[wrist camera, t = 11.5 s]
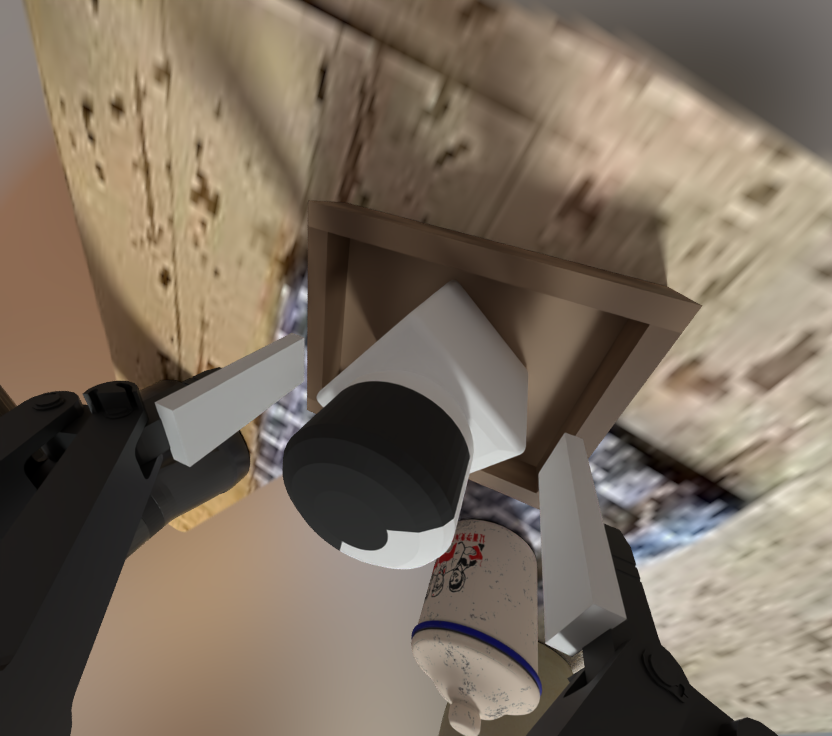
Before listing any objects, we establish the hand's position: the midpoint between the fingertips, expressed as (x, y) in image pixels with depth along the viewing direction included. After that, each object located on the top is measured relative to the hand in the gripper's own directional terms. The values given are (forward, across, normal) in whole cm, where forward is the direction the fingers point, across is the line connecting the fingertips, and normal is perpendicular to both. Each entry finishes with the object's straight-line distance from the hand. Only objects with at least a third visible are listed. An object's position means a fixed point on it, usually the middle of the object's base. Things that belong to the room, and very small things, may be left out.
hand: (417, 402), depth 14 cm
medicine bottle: (+6, 0, 0) cm, 6 cm away
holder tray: (+7, 0, 0) cm, 7 cm away
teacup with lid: (+7, -8, +20) cm, 23 cm away
